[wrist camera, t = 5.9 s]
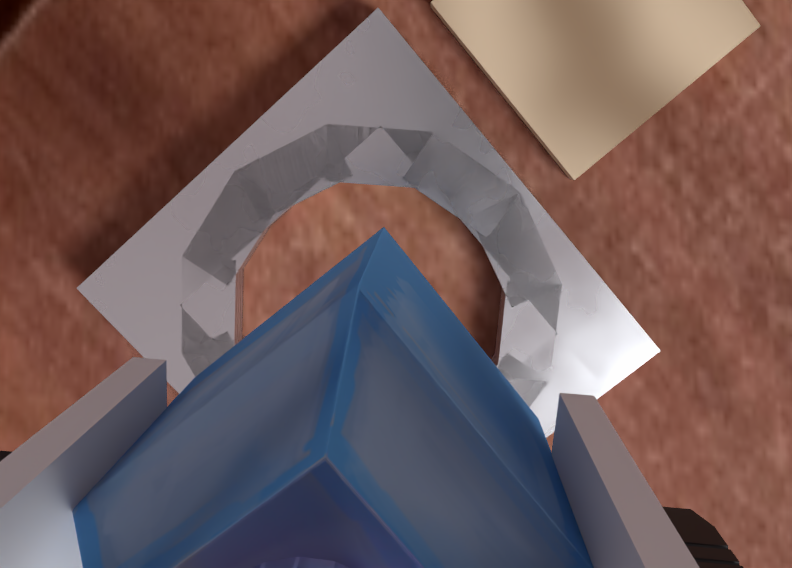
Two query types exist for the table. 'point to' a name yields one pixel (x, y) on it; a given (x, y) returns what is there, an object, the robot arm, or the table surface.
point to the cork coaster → (593, 61)
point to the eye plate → (378, 165)
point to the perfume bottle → (340, 446)
